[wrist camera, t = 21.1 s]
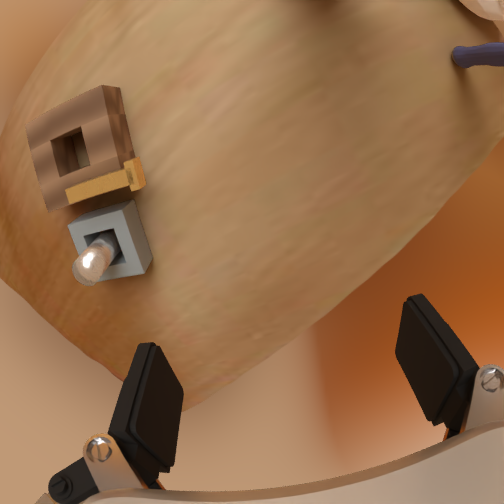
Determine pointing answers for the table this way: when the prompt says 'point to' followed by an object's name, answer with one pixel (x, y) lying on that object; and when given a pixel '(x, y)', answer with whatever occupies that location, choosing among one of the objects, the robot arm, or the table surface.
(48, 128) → the socket block
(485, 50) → the rubber mallet
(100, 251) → the steel peg
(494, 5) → the decorative rooster
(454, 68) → the table surface
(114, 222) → the grey square ring block
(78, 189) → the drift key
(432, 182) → the table surface
